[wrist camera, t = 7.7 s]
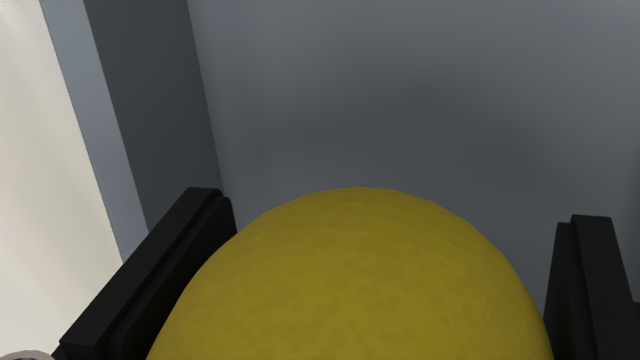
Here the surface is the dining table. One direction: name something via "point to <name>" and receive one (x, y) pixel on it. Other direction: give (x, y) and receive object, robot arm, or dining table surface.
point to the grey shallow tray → (364, 109)
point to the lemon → (355, 288)
